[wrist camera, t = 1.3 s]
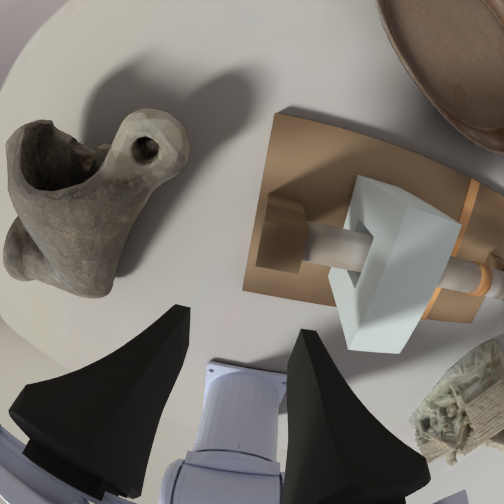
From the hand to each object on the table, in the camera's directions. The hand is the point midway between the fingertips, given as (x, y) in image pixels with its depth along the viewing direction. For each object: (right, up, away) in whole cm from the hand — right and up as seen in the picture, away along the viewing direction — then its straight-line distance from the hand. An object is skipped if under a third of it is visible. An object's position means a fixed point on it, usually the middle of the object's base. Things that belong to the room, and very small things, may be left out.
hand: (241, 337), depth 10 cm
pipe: (-12, +8, +8) cm, 17 cm away
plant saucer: (+16, +19, 0) cm, 25 cm away
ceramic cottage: (+28, -15, +15) cm, 35 cm away
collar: (+8, +5, +6) cm, 11 cm away
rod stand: (+12, +4, +7) cm, 14 cm away
